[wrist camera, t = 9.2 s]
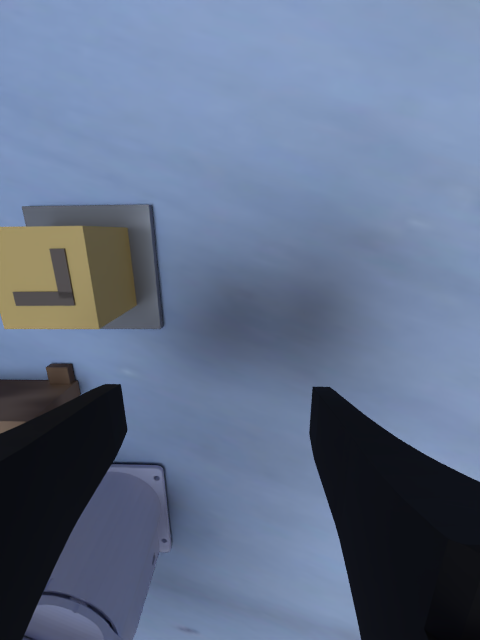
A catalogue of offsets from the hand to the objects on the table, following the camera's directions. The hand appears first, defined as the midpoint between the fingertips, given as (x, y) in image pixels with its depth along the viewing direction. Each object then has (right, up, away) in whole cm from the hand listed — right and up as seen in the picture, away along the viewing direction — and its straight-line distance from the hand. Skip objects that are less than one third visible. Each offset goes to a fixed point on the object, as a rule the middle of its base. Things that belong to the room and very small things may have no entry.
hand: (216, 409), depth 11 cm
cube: (-9, +7, +8) cm, 14 cm away
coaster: (-9, +7, +9) cm, 14 cm away
